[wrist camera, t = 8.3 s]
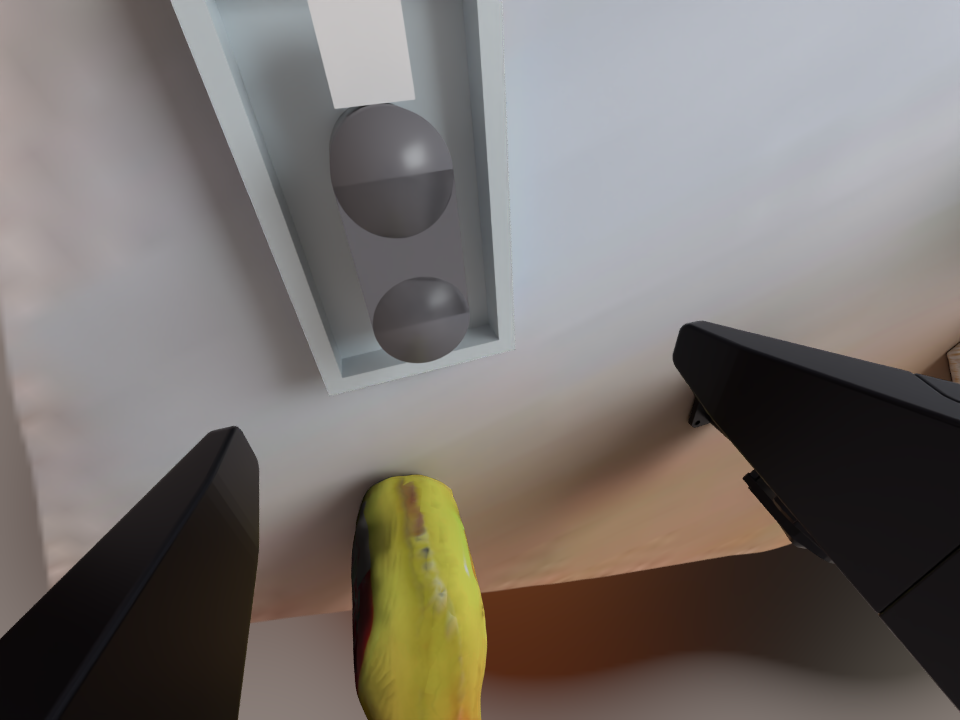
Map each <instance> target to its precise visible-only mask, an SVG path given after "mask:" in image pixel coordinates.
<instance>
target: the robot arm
mask: <svg viewBox="0 0 960 720" xmlns="http://www.w3.org/2000/svg"><path fill="white" fill-rule="evenodd" d="M673 362H674V365H675V367H676V368H677V370H678V371H679V372H680V374H681V375H682V377H683V378H684V380H685V381H686V383H687V384H688V385H689V387H690V388H691V390H692V391H693V393H694V394H695V396H696V399H695V402H694V405H693V409H692V412H691V415H690V418H689V422H688V423H689V424H690V425H691V426H692V427H694V428H695V427H699V426H702V425H705V424H708V423H711V424H712V425H713V426H714V427H715V428H717V429H718V430H719V431H720V432H721V433H722V434H723V435H724V436H725V437H727V438H728V439H729V440H730V441H731V442H732V443H733V445H734V446H735V447H736V448H737V449H738V450H739V452H740V453H741V454H742V455H743V456H744V457H745V459H746V460H747V461H748V462H749V463H750V465H751V466H752V467H753V468H754V470H753V471H752V472H751V473H747V474H746V475H745V476H744V477H743V480H744V481H745V482H746V483H747V484H748V486H749V487H748V488H749V489H750V490H751V492H752V493H753V494H754V495H755V496H756V497H757V499H758V500H759V501H760V502H761V503H762V504H763V506H764V507H765V508H766V509H767V510H768V511H769V513H770V514H771V515H772V516H773V517H774V518H775V520H776V521H777V522H778V523H779V525H780V526H781V528H782V529H783V531H784V532H785V534H786V535H787V537H788V538H789V540H790V541H791V542H792V543H793V544H794V545H795V546H797V547H800V548H805V549H808V550H810V551H812V552H813V553H814V554H816V555H817V556H819V557H820V558H822V559H824V560H825V561H827V562H829V563H835V565H836V566H837V567H838V568H839V569H840V570H841V572H842V573H843V574H844V575H845V576H846V578H847V579H848V580H849V581H850V582H851V584H852V585H853V586H854V587H855V588H856V589H857V590H858V592H859V593H860V594H861V595H862V596H863V597H864V599H865V600H866V601H867V602H868V604H869V605H870V606H871V607H872V608H873V609H874V611H875V612H876V613H879V614H878V615H879V617H880V618H881V620H882V621H883V622H884V623H885V624H886V625H887V626H888V628H889V629H890V630H891V631H892V632H893V634H894V635H895V636H896V637H897V638H898V640H899V641H900V642H901V643H902V644H903V645H904V646H905V648H906V649H907V650H908V651H909V652H910V654H911V655H912V656H913V657H914V658H915V660H916V661H917V662H918V663H919V664H920V666H921V667H922V668H923V669H924V670H925V671H926V673H927V674H928V675H929V676H930V677H931V679H932V680H933V681H934V682H935V683H936V684H937V686H938V687H939V688H940V689H941V690H942V691H943V693H944V694H945V695H946V696H947V697H948V699H949V700H950V701H951V702H952V703H953V704H954V706H955V707H956V708H957V709H958V710H959V712H960V384H959V383H954V382H950V381H946V380H942V379H938V378H934V377H930V376H925V375H921V374H917V373H916V374H913V373H911V372H909V371H905V370H901V369H897V368H893V367H889V366H885V365H880V364H876V363H872V362H868V361H864V360H860V359H856V358H852V357H848V356H844V355H840V354H836V353H832V352H828V351H824V350H820V349H816V348H811V347H807V346H803V345H799V344H795V343H791V342H787V341H783V340H779V339H775V338H771V337H767V336H763V335H759V334H755V333H751V332H746V331H742V330H738V329H734V328H730V327H726V326H722V325H718V324H714V323H710V322H706V321H696V322H691V323H687V324H685V325H683V326H682V327H681V328H680V331H679V334H678V337H677V341H676V345H675V348H674V352H673ZM258 553H259V465H258V461H257V458H256V456H255V454H254V452H253V450H252V448H251V447H250V445H249V443H248V441H247V439H246V438H245V436H244V434H243V432H242V431H241V429H239V428H238V427H236V426H231V427H227V428H222V429H218V430H214V431H211V432H209V433H208V434H207V435H206V436H205V437H204V438H203V439H202V440H201V441H200V442H199V443H198V444H197V445H196V446H195V447H194V448H193V449H192V450H191V451H190V452H189V453H188V454H187V455H186V456H185V457H184V458H183V459H181V460H180V461H179V462H178V463H177V464H176V465H175V466H174V467H173V468H172V469H171V470H170V471H169V472H168V473H167V474H166V475H165V476H164V477H163V478H162V479H161V480H160V481H159V482H158V483H157V484H156V485H155V486H154V487H153V488H152V489H151V490H150V491H149V492H148V493H147V494H146V495H145V496H144V497H143V498H142V499H141V500H140V501H139V502H138V503H137V504H136V505H135V506H134V507H133V508H132V509H131V510H130V511H129V512H128V513H127V514H126V515H125V516H124V517H123V518H122V519H121V520H120V521H119V522H118V523H117V524H116V525H115V526H114V527H113V528H112V529H111V530H110V531H109V532H108V533H107V534H106V535H105V536H104V537H103V538H102V539H101V540H100V541H99V542H98V543H97V544H96V545H95V546H94V547H93V548H92V549H91V550H90V551H89V552H88V553H87V554H86V555H85V556H84V557H82V558H81V559H80V560H79V561H78V562H77V563H76V564H75V565H74V566H73V567H72V568H71V569H70V570H69V571H68V572H67V573H66V574H65V575H64V576H63V577H62V578H61V579H60V580H59V581H58V582H57V583H56V584H55V585H54V586H53V587H52V588H51V589H50V590H49V591H48V592H47V593H46V594H45V595H44V596H43V597H42V598H41V599H40V600H39V601H38V602H37V603H36V604H35V605H34V606H33V607H32V608H31V609H30V610H29V611H28V612H27V613H26V614H25V615H24V616H23V617H22V618H21V619H20V620H19V621H18V622H17V623H16V624H15V625H14V626H13V627H12V628H11V629H10V630H9V631H8V632H7V633H6V634H5V635H4V636H3V637H2V638H1V639H0V720H238V714H239V706H240V698H241V690H242V682H243V674H244V666H245V658H246V651H247V643H248V634H249V626H250V619H251V611H252V603H253V595H254V587H255V579H256V571H257V563H258Z"/></svg>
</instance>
